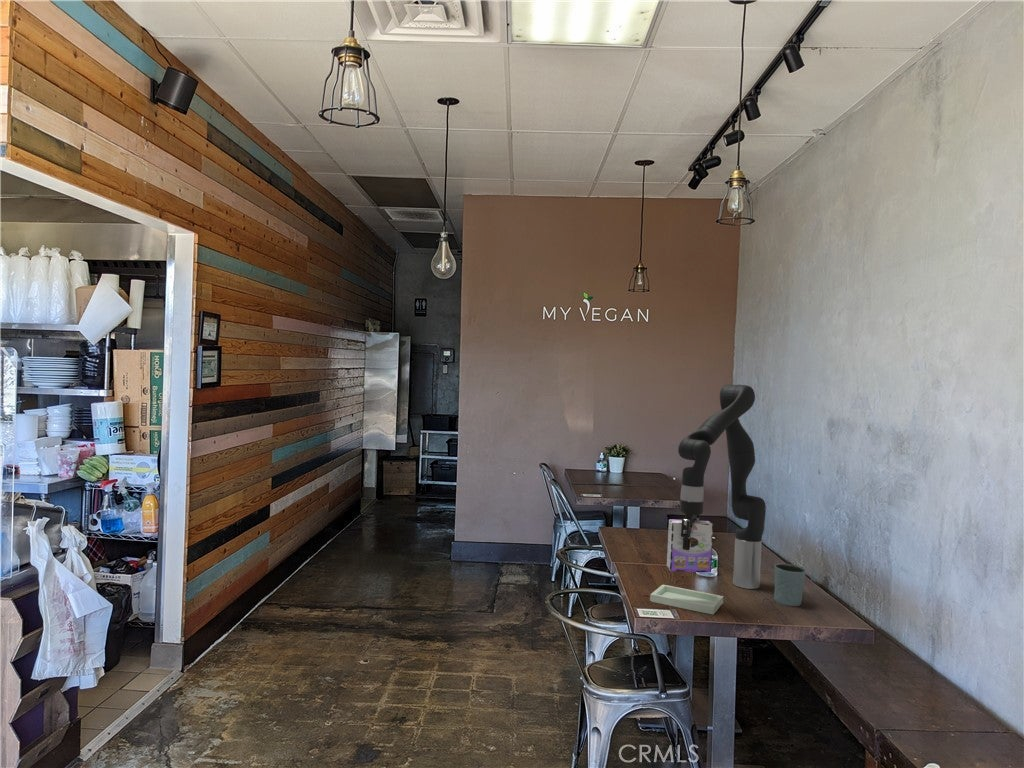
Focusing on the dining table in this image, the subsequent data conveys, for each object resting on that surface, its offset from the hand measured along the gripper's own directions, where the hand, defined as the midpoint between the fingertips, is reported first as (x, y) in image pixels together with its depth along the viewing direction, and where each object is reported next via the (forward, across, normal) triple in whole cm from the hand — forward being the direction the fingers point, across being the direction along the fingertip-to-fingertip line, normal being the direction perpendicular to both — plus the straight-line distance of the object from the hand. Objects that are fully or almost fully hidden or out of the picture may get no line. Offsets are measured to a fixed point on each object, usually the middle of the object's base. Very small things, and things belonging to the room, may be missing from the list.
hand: (689, 547), depth 226 cm
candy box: (+8, 0, 0) cm, 8 cm away
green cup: (+19, -23, +29) cm, 41 cm away
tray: (+19, 0, 0) cm, 19 cm away
